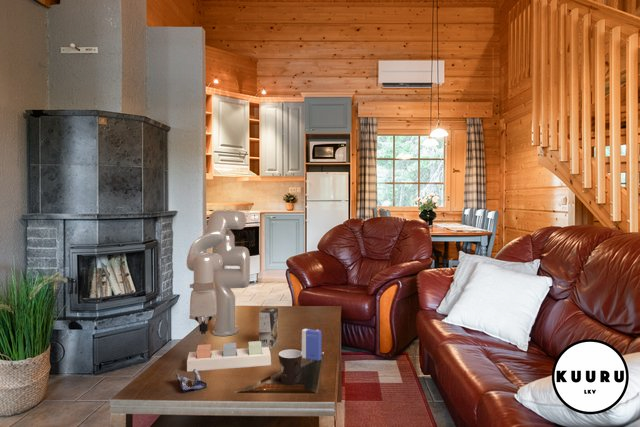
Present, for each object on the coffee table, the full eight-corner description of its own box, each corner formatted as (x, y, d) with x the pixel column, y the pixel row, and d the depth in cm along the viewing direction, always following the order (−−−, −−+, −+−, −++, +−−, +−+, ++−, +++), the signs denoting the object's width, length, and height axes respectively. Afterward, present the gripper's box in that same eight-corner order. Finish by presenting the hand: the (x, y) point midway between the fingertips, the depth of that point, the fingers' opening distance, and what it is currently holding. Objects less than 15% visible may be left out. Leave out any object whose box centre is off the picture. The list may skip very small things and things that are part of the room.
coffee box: (272, 349, 190) (272, 313, 189) (258, 348, 191) (258, 312, 190) (278, 342, 199) (278, 307, 198) (265, 341, 200) (265, 307, 199)
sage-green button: (248, 357, 172) (248, 345, 172) (248, 353, 177) (248, 341, 177) (261, 356, 173) (261, 345, 173) (260, 352, 178) (260, 341, 178)
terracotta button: (197, 361, 168) (196, 349, 168) (197, 356, 173) (197, 345, 173) (210, 360, 169) (210, 348, 169) (210, 355, 174) (210, 344, 174)
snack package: (209, 378, 160) (176, 379, 158) (209, 363, 158) (176, 363, 157) (205, 399, 148) (170, 400, 146) (205, 382, 147) (169, 383, 145)
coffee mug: (278, 376, 161) (278, 349, 161) (301, 375, 162) (301, 349, 161) (278, 389, 150) (278, 361, 149) (303, 389, 150) (303, 360, 150)
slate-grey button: (223, 359, 170) (223, 347, 170) (223, 355, 175) (223, 343, 175) (236, 358, 171) (236, 346, 171) (236, 354, 176) (236, 342, 176)
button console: (187, 371, 165) (187, 361, 165) (189, 361, 175) (189, 352, 175) (270, 365, 172) (270, 355, 171) (268, 356, 181) (268, 346, 181)
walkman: (321, 358, 179) (321, 329, 179) (318, 360, 177) (318, 331, 176) (304, 355, 182) (304, 327, 182) (301, 357, 180) (301, 329, 179)
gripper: (182, 289, 165) (182, 337, 165) (222, 287, 168) (222, 334, 168) (184, 285, 172) (184, 331, 172) (223, 284, 175) (223, 329, 175)
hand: (203, 333), depth 170 cm, fingers closed
